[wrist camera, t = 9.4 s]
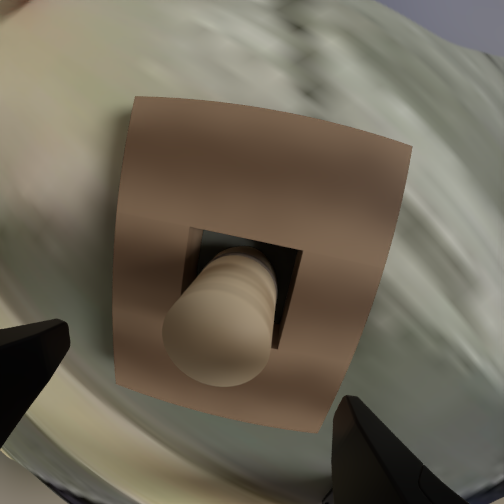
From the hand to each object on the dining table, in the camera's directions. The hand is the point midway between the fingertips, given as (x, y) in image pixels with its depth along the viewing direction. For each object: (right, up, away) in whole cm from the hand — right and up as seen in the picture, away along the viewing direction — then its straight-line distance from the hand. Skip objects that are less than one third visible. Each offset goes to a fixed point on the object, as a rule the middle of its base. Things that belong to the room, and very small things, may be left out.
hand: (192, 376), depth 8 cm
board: (+1, +2, +10) cm, 10 cm away
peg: (+1, +2, +10) cm, 10 cm away
